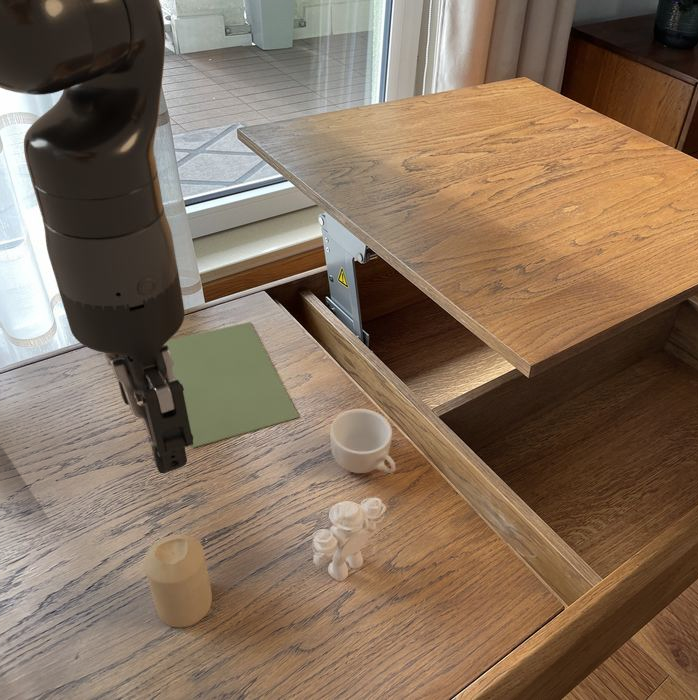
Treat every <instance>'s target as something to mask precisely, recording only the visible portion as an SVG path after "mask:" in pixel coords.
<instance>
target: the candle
mask: <svg viewBox="0 0 698 700" xmlns="http://www.w3.org/2000/svg"><path fill="white" fill-rule="evenodd" d="M143 568H144V573H145V576H146V579H147V583H148V587H149V590H150V593H151V596H152V597H151V598H152V601H153V604H154V607H155V610H156V613H157V616H158V617H159V619H160V620H161V621H162V623H164V624H165V625H167V626H170V627H172V628H186V627H190V626H192V625H195V624H196V623H198V622H199V621H201V620H202V619H203V618H205V616H206V615H207V614H208V613H209V611H210V608H211V606H212V603H213V592H212V587H211V582H210V576H209V572H208V571H209V570H208V566H207V561H206V554H205V550H204V546H203V545H202V543H201V541H200V540H198V539H197V538H196V537H194V536H192V535H189V534H185V533H184V534H183V533H177V534H171V535H167V536H165V537H163V538H160V539H159V540H157V541H156V542H154V543H153V544H152V545H151V546H150V547H149V548H148V550H147V551H146V553H145V556H144V559H143Z"/></svg>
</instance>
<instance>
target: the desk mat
mask: <svg viewBox="0 0 698 700" xmlns="http://www.w3.org/2000/svg"><path fill="white" fill-rule="evenodd" d="M165 344H167V346H168V348H169V350H170V353H171V356H172V359H173V367H172V370H173V373H174V376H175V379H176V380H178V381H179V382H180V384H182V385H183V388H184V391H183V394H184V399H185V404H186V409H187V414H188V419H189V424H190V429H191V433H192V435H193V445H191V446H192V449H195V448H199V447H203V446H205V445H209V444H213V443H216V442H220V441H223V440H227V439H230V438H233V437H237V436H241V435H244V434H247V433H251V432H255V431H258V430H262V429H265V428H269V427H272V426H275V425H278V424H282V423H285V422H289V421H293V420H295V418H296V419H299V418H300V415H299V413H298V411H297V410H296V408H295V406H294V403H293V402H292V400H291V398H290V396H289V394H288V392H287V390H286V388H285V386H284V385H283V383H282V380H281V379H280V377H279V374H278V373H277V371H276V369H275V367H274V365H273V363H272V361H271V359H270V358H269V355H268V354H267V352H266V349H265V348H264V346H263V344H262V342H261V340H260V338H259V336H258V334H257V332H256V330H255V328H254V326H253V325H252V323H251V321H249V322H244V323H240V324H236V325H231V326H226V327H221V328H218V329H213V330H208V331H203V332H199V333H195V334H190V335H185V336H181V337H177V338H170V339H169V340H168V341H167V342H166V343H165ZM165 344H164V345H165ZM292 419H293V420H292Z"/></svg>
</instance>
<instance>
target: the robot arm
mask: <svg viewBox="0 0 698 700" xmlns="http://www.w3.org/2000/svg"><path fill="white" fill-rule="evenodd" d="M165 55H166V27H165V19H164V14H163V9H162V5H161V1H160V0H0V89H3V90H4V91H5V90H6V91H9V92H12V93H18V94H23V95H29V96H30V95H31V96H43V95H44V96H45V95H51V94H55V93H58V92H59V93H60V92H61V91H62V93H61V96H60V97H59V99H58V101H56V103H55V104H54V105H53V106H52V107H50V109H49V110H48V111H46V112H45V113H44V114H43V115H41V116H40V117H39V118H38V119H37V120H35V121H34V122H33V123H32V124H31V125H30V127H28V130H27V131H26V133H25V135H24V138H23V153H24V158H25V163H26V167H27V171H28V175H29V177H30V182H31V184H32V187H33V188H32V189H33V191H34V195H35V198H36V202H37V205H38V208H39V213H40V215H41V219H42V223H43V228H44V235H45V236H44V237H45V245H46V251H47V255H48V259H49V262H50V265H51V268H52V272H53V275H54V278H55V282H56V287H57V289H58V292H59V296H60V299H61V302H62V306H63V309H64V312H65V316H66V319H67V322H68V325H69V329H70V332H71V334H72V336H73V337H74V339H75V340H77V342H79V344H81V345H82V346H84V347H86V348H87V349H89V350H93V351H95V352H99V353H103V355H104V358H105V360H106V362H107V365H108V366H110V367H111V368H112V371H113V374H114V377H115V379H116V380H117V383H118V386H119V391H120V395H121V398H122V400H123V403H125V404H126V405H128V406H129V408H130V412H131V414H132V415H133V416H135V417H136V418H141V420H142V424H143V426H144V429H145V432H146V440H147V442H148V443H150V448H151V451H152V455H153V460H154V465H155V467H156V469H157V471H158V473H159V474H167V473H169V472H172V471H175V470H177V469H180V468H182V467H185V465H187V464H188V457H187V453H186V448H188V447H190V446H192V445H193V435H192V433H191V429H190V424H189V419H188V414H187V409H186V404H185V399H184V394H183V391H184V388H183V385H182V384H180V382H179V381H178V380H176V379H175V376H174V373H173V370H172V367H173V359H172V356H171V353H170V350H169V348H168V346H167V344H165V343H166V342H167V341H168V340H171V339H172V338H173V337H174V336H175V334H177V332H178V331H179V330H180V328H181V327H182V325H183V323H184V320H185V314H186V313H185V304H184V300H183V293H182V286H181V281H180V275H179V269H178V264H177V263H178V262H177V256H176V249H175V243H174V239H173V234H172V233H173V232H172V229H171V226H170V224H169V221H168V218H167V213H166V211H165V207H164V203H163V196H162V190H161V186H160V185H161V184H160V178H159V173H158V172H159V171H158V165H157V159H156V155H155V140H156V133H157V128H158V123H159V115H160V106H161V95H162V86H163V78H164V77H163V76H164V65H165V57H166V56H165ZM164 344H165V345H164ZM141 402H142V403H141Z"/></svg>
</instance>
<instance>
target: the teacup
mask: <svg viewBox="0 0 698 700" xmlns="http://www.w3.org/2000/svg"><path fill="white" fill-rule="evenodd" d="M329 437H330V438H329V439H330V448H331V449H330V450H331V453H332V457H333V459H334V460H335V462H336V463H337V464H338V465H339V466H340V467H341V468H342V469H344V470H346V471H348V472H351V473H353V474H366V473H370V472H373V471H375V470H378V471H381V472H384V473H388V474H391V473H393V472H395V471H396V463H395V461H394V460H393V458H392V457H391V455H389V453H390V448H391V443H392V439H393V429H392V426H391V423H390V422H389V421H388V420H387V418H386V417H385V416H383V415H382V414H380V413H379V412H378V411H377V412H376V411H374V410H371V409H367V408H352V409H349V410H346V411H343V412H341V413H340V414H338V415H336V416H335V418H334V419H333V421H332V422H331V425H330V430H329ZM385 461H386V462H388V463H389V465H390V468H389V467H388V466H386V464H385Z"/></svg>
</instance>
